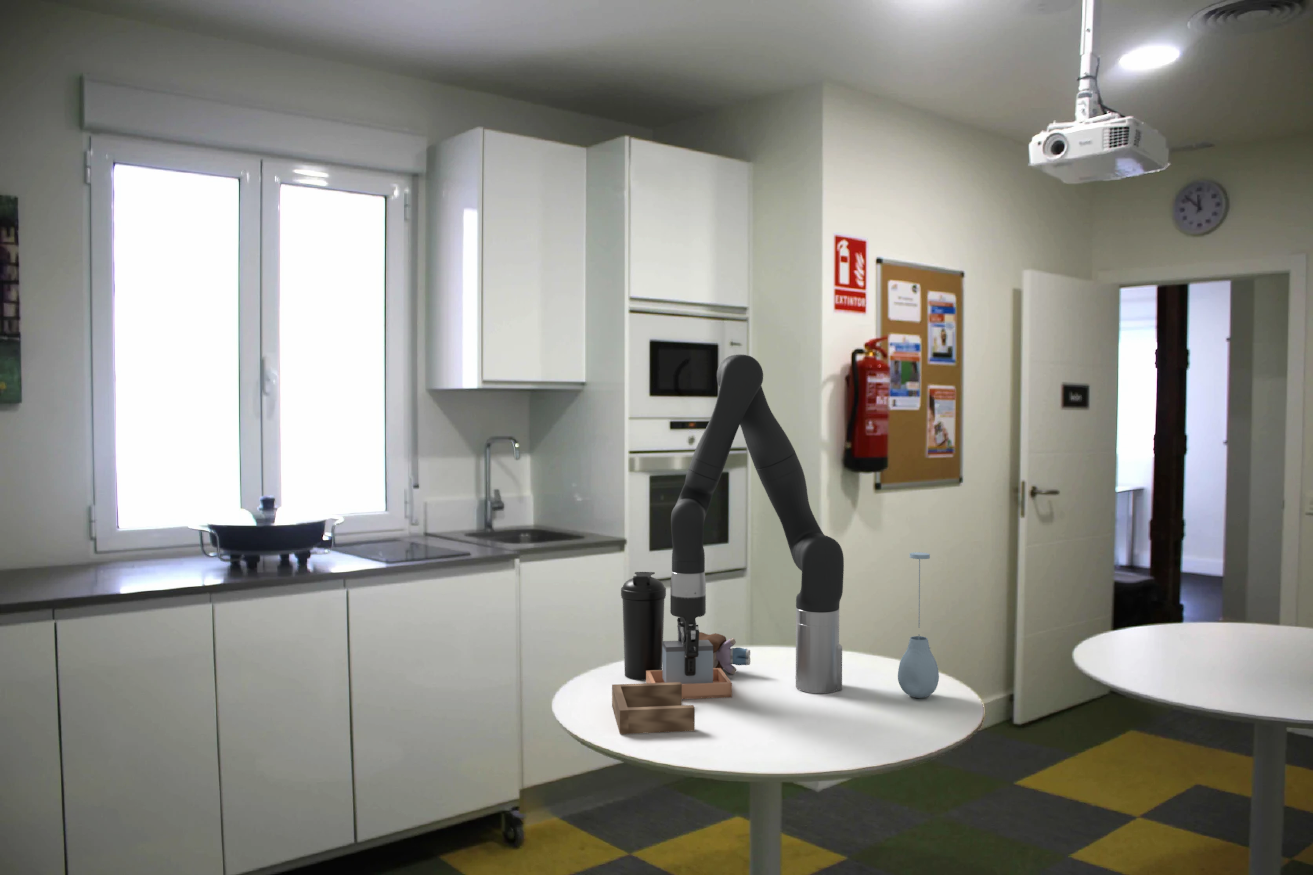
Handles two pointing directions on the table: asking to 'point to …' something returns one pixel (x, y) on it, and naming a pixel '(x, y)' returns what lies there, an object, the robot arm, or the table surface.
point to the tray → (699, 685)
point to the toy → (726, 652)
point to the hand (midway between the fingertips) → (687, 671)
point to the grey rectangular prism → (676, 663)
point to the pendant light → (918, 660)
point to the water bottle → (643, 624)
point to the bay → (651, 708)
